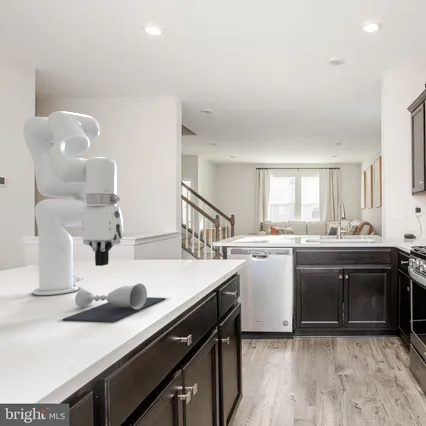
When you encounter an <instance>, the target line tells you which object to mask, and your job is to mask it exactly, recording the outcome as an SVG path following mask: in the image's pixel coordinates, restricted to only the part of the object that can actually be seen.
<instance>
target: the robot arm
mask: <svg viewBox="0 0 426 426" xmlns="http://www.w3.org/2000/svg"><path fill="white" fill-rule="evenodd" d="M99 135H100V124H99V123H98V120H96V119H95V117H92V116H90V115H87V114H80V113H75V112H70V111H65V110H63V111H62V110H58V111H57V110H56V111H54V112H51V113H50V114H49V115H48V116H31V117H28V118H27V119H26V120H25V122H24V124H23V137H24V143H25V144H26V146H27V149H28V151H29V153H30V155H31V157H32V161H33V167H34V168H33V169H34V174H35V183H36V188H37V191H38V193H39V194H40V195H41V196H45V197H52V198H46V199H42V200H40V201H38V202H37V203H36V204H35V206H34V216H35V221H36V226H37V235H38V236H37V237H38V287H37V288H34V289H33V290H32V294H33V295H35V296H52V295H63V294H67V293H72V292H76V291H79V285H78V284H76V283H77V282H81V281H83V279H84V278H83V276H82V275H77V276H76V275H74V241H73V237H72V235H71V234H70V233H69V232H68V231H67V230H66V229H65V228H67V227H80V228H81V230H80V231H81V238H82V239H83V241H82V244H83V245H87V246H90V248H92V251H93V252H94V262H95V263H94V264H95V266H96V267H98V266H99V267H103V266H107V265H109V261H110V260H109V259H110V258H109V257H110V256H109V255H110V254H109V253H110V252H109V251H111V250H112V248H113V247H114V246H117V245H120V244H121V239H123V238H124V224H123V223H124V222H123V216H122V211H121V208H120V207H121V206H119V205H117V203H119V202H120V200H121V197H119V196H117V195H118V194H117V162H116V160H115V159H114V158H111V157H106V156H105V157H104V156H91V157H88V158H83V157H78V156H81V155H83V154H85V153H86V152H88V150H89V148H90V144H91V143H93V142H95V141H96V140H97V139H98V138H99ZM52 144H53V145H52ZM72 198H73V199H72Z"/></svg>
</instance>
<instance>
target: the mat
mask: <svg viewBox="0 0 426 426" xmlns="http://www.w3.org/2000/svg"><path fill="white" fill-rule="evenodd" d="M165 300H166V297H148V296H147V298H146V301H145V304H144V305H143V306H142V307H141V308H140V309H134V308H119V307H116V306H114V305H112V304H111V303H109V302H108V301H107V302H105V303H102V304H99V305H98V306H94V307H91V308H89V309H86V310H83V311H80V312H77V313H75V314H72V315H69V316H67V317H64V318H62V321H65V322H67V321H69V322H93V323H95V322H97V323H115V322H118V321H120V320H122V319H125V318H126V317H129V316H131V315H133V314H136V313H137V312H140V311H142V310H144V309H146V308H149V307H151V306H154V305H155V304H158V303H161V302H162V301H165Z"/></svg>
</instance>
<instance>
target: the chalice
mask: <svg viewBox="0 0 426 426" xmlns="http://www.w3.org/2000/svg"><path fill="white" fill-rule="evenodd" d="M147 297H148V291H147V288H146V286H145V285H144V284H143V283H136V284H135V285H123V286H120V287H118V288H116V289H114V290H112V291H110V292H109V293H108V294H107V295H105V294H102V295H100V294H96V295H93V293H92V292H91V291H89V290H86V289H80V290H78V292H77V293H76V295H75V298H74V301H75V302H74V303H75V305H76V306H77V307H78V308H85V307H87V306H89V305H91V304H92V303H93V301H95V302H99V301H103V302H104V301H105V300H106V301H107V303H108V302H109V303H111V304H112V305H114V306H116V307H119V308H134V309H140V308H141V307H142V306H143V305H144V304H145V301H146V298H147Z"/></svg>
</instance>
